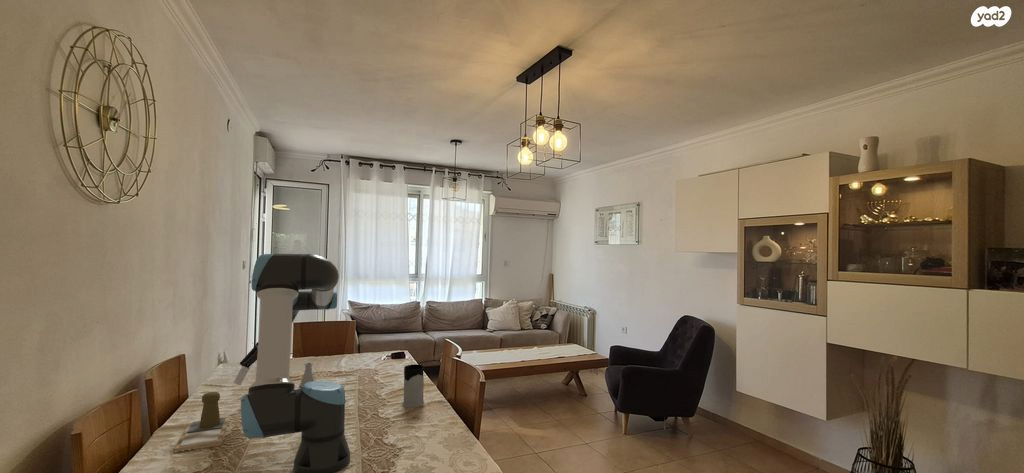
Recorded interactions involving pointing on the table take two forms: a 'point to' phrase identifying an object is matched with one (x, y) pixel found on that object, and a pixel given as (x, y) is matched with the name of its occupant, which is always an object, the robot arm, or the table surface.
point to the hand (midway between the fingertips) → (247, 384)
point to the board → (202, 436)
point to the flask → (307, 374)
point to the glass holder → (413, 386)
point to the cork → (210, 410)
